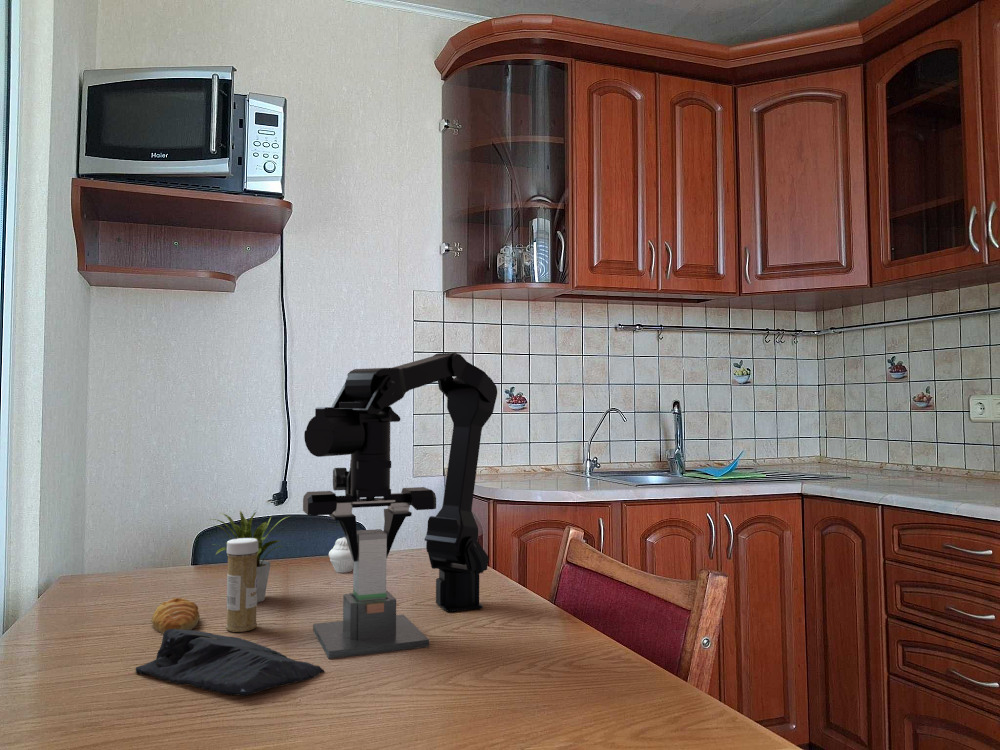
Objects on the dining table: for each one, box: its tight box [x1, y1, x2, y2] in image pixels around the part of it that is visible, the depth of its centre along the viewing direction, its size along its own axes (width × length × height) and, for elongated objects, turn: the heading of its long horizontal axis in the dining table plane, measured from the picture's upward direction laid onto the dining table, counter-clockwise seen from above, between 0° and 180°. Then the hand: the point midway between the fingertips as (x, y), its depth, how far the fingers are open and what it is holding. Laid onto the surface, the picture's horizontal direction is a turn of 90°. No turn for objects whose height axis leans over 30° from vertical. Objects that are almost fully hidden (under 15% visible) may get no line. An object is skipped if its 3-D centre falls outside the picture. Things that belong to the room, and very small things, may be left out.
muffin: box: [328, 536, 353, 574], centre depth 156 cm, size 6×6×7 cm
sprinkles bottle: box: [225, 537, 258, 633], centre depth 116 cm, size 5×5×13 cm
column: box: [352, 528, 388, 602], centre depth 111 cm, size 4×4×10 cm
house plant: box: [210, 509, 291, 603], centre depth 133 cm, size 14×14×16 cm
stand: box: [312, 590, 430, 660], centre depth 111 cm, size 14×14×6 cm
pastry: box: [150, 597, 201, 635], centre depth 117 cm, size 9×7×4 cm
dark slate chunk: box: [135, 629, 325, 697], centre depth 97 cm, size 15×22×5 cm
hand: (369, 560), depth 111 cm, fingers closed on column, 4 cm apart
